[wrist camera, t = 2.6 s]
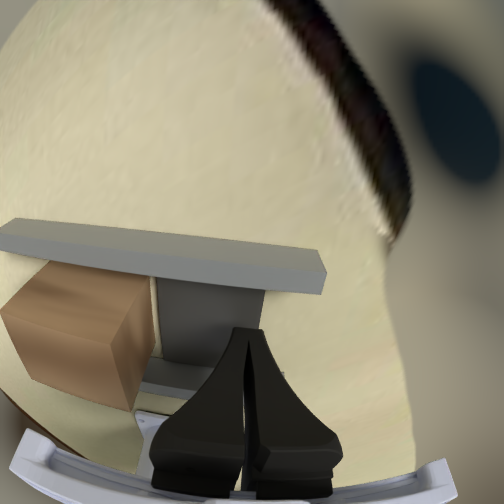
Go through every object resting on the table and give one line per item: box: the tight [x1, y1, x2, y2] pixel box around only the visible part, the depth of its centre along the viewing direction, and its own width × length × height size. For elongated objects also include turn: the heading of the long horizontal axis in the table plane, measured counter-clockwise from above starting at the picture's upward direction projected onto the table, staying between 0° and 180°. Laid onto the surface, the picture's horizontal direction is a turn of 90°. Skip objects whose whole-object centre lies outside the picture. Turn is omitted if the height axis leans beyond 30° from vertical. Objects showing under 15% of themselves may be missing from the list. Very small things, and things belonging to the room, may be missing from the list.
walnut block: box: [0, 260, 156, 412], centre depth 12 cm, size 4×6×5 cm
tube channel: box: [0, 218, 327, 406], centre depth 13 cm, size 9×16×2 cm, turn 83°
